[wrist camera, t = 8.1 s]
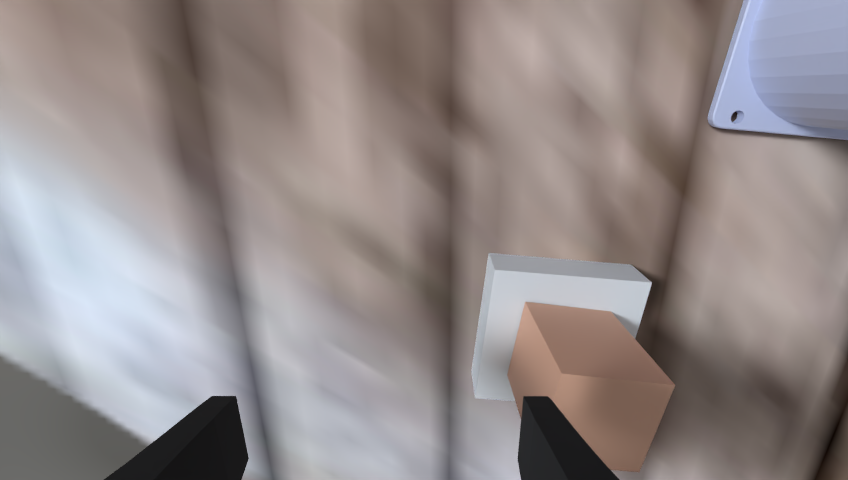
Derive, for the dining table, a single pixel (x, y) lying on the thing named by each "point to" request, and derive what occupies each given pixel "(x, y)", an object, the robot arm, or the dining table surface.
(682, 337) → the dining table surface
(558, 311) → the column block
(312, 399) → the dining table surface
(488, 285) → the foundation slab
